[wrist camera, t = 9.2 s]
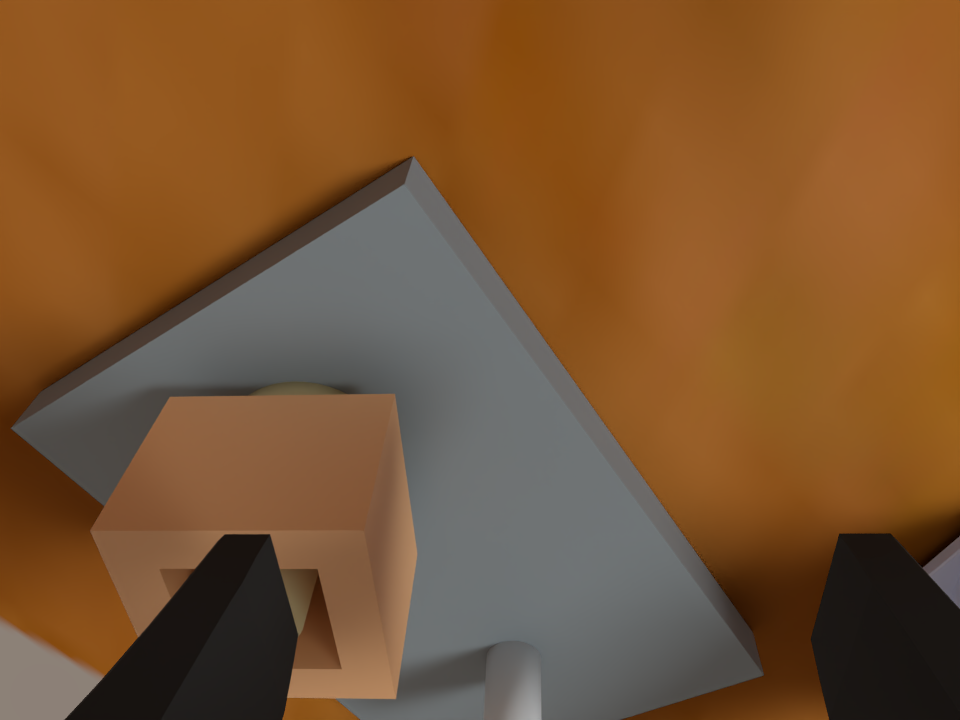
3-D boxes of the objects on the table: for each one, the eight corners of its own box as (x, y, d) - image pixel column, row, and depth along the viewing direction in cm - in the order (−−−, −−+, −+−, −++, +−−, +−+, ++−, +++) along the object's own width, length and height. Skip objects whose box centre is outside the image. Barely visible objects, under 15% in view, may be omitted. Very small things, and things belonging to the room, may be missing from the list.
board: (753, 632, 25) (812, 855, 20) (435, 737, 30) (414, 945, 24) (413, 156, 17) (360, 318, 12) (40, 391, 21) (-123, 590, 16)
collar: (395, 393, 18) (363, 530, 14) (417, 554, 21) (396, 698, 17) (169, 396, 18) (90, 531, 15) (222, 553, 21) (164, 695, 18)
